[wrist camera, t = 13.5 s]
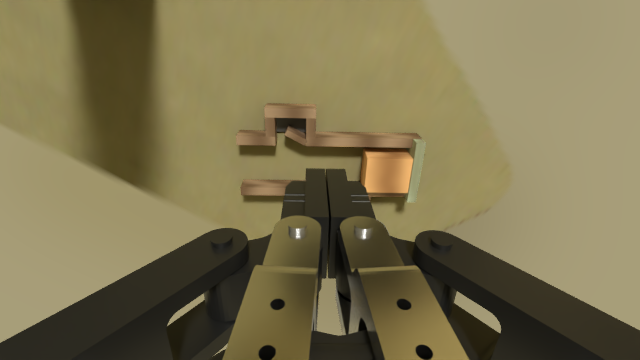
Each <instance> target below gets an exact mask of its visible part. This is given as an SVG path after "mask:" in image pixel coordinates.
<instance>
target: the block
mask: <svg viewBox="0 0 640 360" xmlns="http://www.w3.org/2000/svg"><path fill="white" fill-rule="evenodd" d="M412 165H413V158H412V157H411V155H410V154H409V153H408V151H407V150H406V149H390V148H363V157H362V168H361V179H360V181H361V184H362V185H363V186H364V187H366V190H367V192H372V193H408V189H409V183H410V177H411V171H412Z"/></svg>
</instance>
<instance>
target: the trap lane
mask: <svg viewBox="0 0 640 360" xmlns="http://www.w3.org/2000/svg"><path fill="white" fill-rule="evenodd" d="M264 110H265V131H255V130H240V131H239V132H238V134H237V135H236V142H237V145H272V146H275V145H276V142H277V132H285V136H287V137H289V138H291V139H293V140H295V141H297V142H299V143H300V144H302V145H304V146H305V144H306V146H332V147H392V148H406V150H407V151H408V153H409V154H410V155H411V157H412V158H413V165H412V171H411V177H410V183H409V189H408V193H372V192H367V193H368V196H369V199H371V197H405V199H406V201H407V202H416V198H417V192H418V187H419V181H420V175H421V169H422V164H423V158H424V152H425V146H426V143H425V141H424V140H423V139H422V138H421V137H420V136H419V135H418V134H417V133H366V132H316V104H271V103H267V104H266V106H265V108H264ZM304 132H306V133H304ZM291 181H306V180H243V183H242V185H241V195H279V196H284V195H285V188H286V186H287V185H288V184H289V183H290V182H291ZM360 183H361V182H360Z"/></svg>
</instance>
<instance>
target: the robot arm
mask: <svg viewBox="0 0 640 360" xmlns="http://www.w3.org/2000/svg"><path fill="white" fill-rule="evenodd" d="M327 266H328V278H336V303H337V309H338V314H339V319H340V324H341V330H342V336H337V335H332V334H327V333H322V332H318V331H317V317H318V302H319V291H320V290H321V282H322V278H326V273H327ZM457 291H458V292H460V293H461V294H463V295H464V296H466V297H467V298H469V299H471V300H472V301H474V302H476V303H477V304H479V305H480V306H482V307H483V308H485V309H487V310H488V311H490V312H491V313H493V315H495V317H496V318H497V319H498V321H499V322H500V325H501V333H498V332H497V331H495V330H494V329H492V328H490V327H489V326H488V325H486V324H485V323H483V322H482V321H480V320H479V319H477V318H475V317H474V316H473V315H471V314H469V313H468V312H466V311H465V310H464V309H462V308H461V307H459V306H458V305H456V304H455V303H454V300H455V296H456V292H457ZM203 293H204V297H205V300H204V301H203V302H201V303H200V304H198V305H197V306H195V307H194V308H193V309H191V310H190V311H188V312H187V313H185V314H184V315H183V316H181V317H180V318H178V319H177V320H176V321H174V322H173V323H171V324H170V325H169V326H167V324H168V322H169V320H170V318H171V317H172V316H173V315H174V314H175V313H176V312H177V311H178V310H180V309H181V308H183V307H184V306H186V305H187V304H189V303H190V302H191V301H193V300H194V299H196V298H197V297H198V296H200V295H201V294H203ZM227 343H228V345H227V348H226V349H225V350H223V351H221V352H220V353H218V354H216V353H217V352H218V351H219V350H221V349H222V348H223V347H224V346H225V345H226V344H227ZM215 354H216V355H215ZM214 355H215V356H214ZM212 356H213V357H212ZM0 360H640V330H638V329H636V328H634V327H632V326H630V325H628V324H626V323H624V322H622V321H620V320H618V319H616V318H614V317H612V316H610V315H608V314H606V313H605V312H602V311H600V310H598V309H597V308H595V307H593V306H591V305H589V304H587V303H585V302H583V301H581V300H579V299H577V298H575V297H573V296H571V295H569V294H567V293H565V292H563V291H561V290H560V289H558V288H556V287H554V286H552V285H550V284H548V283H546V282H544V281H542V280H540V279H538V278H536V277H534V276H532V275H530V274H528V273H526V272H524V271H522V270H520V269H518V268H516V267H514V266H513V265H510V264H509V263H507V262H505V261H502V260H501V259H499V258H497V257H495V256H493V255H491V254H489V253H487V252H485V251H483V250H481V249H479V248H477V247H475V246H473V245H471V244H469V243H468V242H466V241H463V240H462V239H460V238H458V237H456V236H453V235H451V234H449V233H446V232H442V231H435V230H429V231H424V232H421V233H419V234H418V235H417V236H416V239H415V242H411V241H406V240H401V239H397V238H395V237H392V236H390V235H389V233H388V231H387V229H386V227H385V226H384V225H383V223H381V222H380V221H378V220H376V218H375V215H374V212H373V209H372V205H371V202H370V199H369V196H368V193H367V190H366V187H364V186H363V185H362V184H361V183H360V182H358V181H347V176H346V172H345V169H326V175H325V169H308V168H306V181H291V182H290V183H289V184H288V185H287V186H286V188H285V195H284V201H283V208H282V214H281V220H280V221H278V222H277V223H276V225H275V227H274V230H273V233H272V234H270V235H268V236H266V237H263V238H259V239H254V240H249V241H248V239H247V236H246V234H245V233H244V232H242V231H240V230H237V229H233V228H221V229H216V230H213V231H210V232H208V233H206V234H204V235H202V236H200V237H198V238H197V239H194V240H193V241H191V242H189V243H187V244H185V245H183V246H181V247H179V248H177V249H176V250H174V251H172V252H170V253H168V254H166V255H164V256H162V257H161V258H159V259H157V260H155V261H153V262H152V263H149V264H147V265H146V266H144V267H142V268H140V269H138V270H136V271H134V272H132V273H131V274H129V275H127V276H125V277H123V278H121V279H119V280H117V281H116V282H114V283H112V284H110V285H108V286H106V287H105V288H102V289H101V290H99V291H97V292H95V293H93V294H91V295H89V296H87V297H86V298H84V299H82V300H80V301H78V302H76V303H74V304H72V305H71V306H69V307H67V308H65V309H63V310H61V311H59V312H57V313H56V314H54V315H52V316H50V317H48V318H46V319H44V320H42V321H41V322H39V323H37V324H35V325H33V326H31V327H29V328H27V329H26V330H24V331H22V332H20V333H18V334H16V335H14V336H13V337H11V338H9V339H7V340H5V341H3V342H1V343H0Z"/></svg>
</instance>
